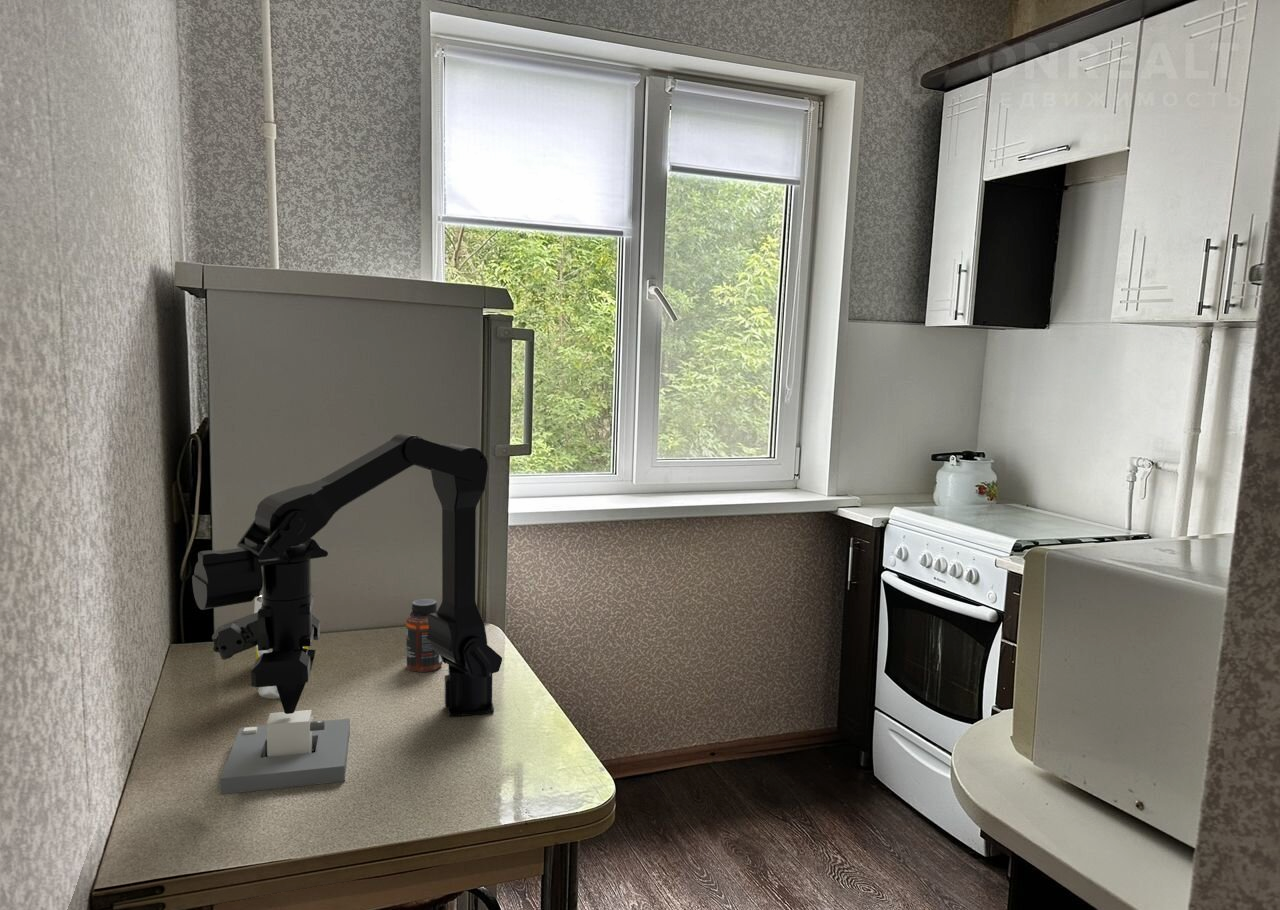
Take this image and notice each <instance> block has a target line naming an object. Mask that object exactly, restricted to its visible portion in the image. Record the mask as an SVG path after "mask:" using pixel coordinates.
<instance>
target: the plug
mask: <svg viewBox="0 0 1280 910" xmlns="http://www.w3.org/2000/svg"><path fill="white" fill-rule="evenodd" d="M312 715H313V714H312V709H306V710H295V712H294V713H292V714H285V712H284V711H281V712H280V711H279V712H270V713H269V717H268V719H267V722H266V726H267V754H266V757H273V756H283V755H293V754H304V753H313V750H312V731H319V730H324V729H325V720H324V719H323V720H312Z"/></svg>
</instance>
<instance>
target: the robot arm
mask: <svg viewBox="0 0 1280 910" xmlns="http://www.w3.org/2000/svg"><path fill="white" fill-rule="evenodd" d="M488 461H489V460H488V458H487V456H486V455H485V454H484V453H483V452H482V451H481V450H480V449H477V448H475V447H470V446H464V445H460V444H456V443H446V444H445V443H444V444H440V443H436V442H432V441H429V440H427V439H425V438H423V437H421V436H419V435H415V434H409V433H397V434H396V435H394V436H393V437H392V438H390V440H388V441H387V442H385V443H383V444H381V445H379V446H378V447H375V448H374V449H372V450H370V451H369V452H367V453H366V454H365V453H364V455H361V456H360V457H357V458H356V459H354V460H353V461H351V462H349V463H348V464H346V465H344V466H341V468H338V469H337V470H335V471H333V472H331V473H330V474H328V475H326V476H325V477H322V478H321V479H318V480H316V481H313V482H311V483H305V484H302V485H296V486H292V487H290V488H286V489H284V490H281V491H278V492H276V493H273V494H270V495H267V496H266V497H265V498H264V499H262V500H261V501H260V502H259V503H258V504H257V506H256V507H257V508H256V511H255V515H254V520H253V522H251V524H250V525H249V527H248V528H247V530H246V531H245V533H244V534H243V535H242V537H241V538H240V539H239V541H238V543H237V544H236V546H237V548H230V549H222V550H209V549H207V550H201V551H199V552H198V553H197V562H196V563H195V566H194V572H193V573H194V574H193V575H192V576H191V579H192V580H191V582H192V591H193V596H194V599H195V600H194V601H195V603H196V606H197V607H198V608H199V609H200V610H201V611H202V610H203V611H204V610H209V609H215V608H221V607H229V606H233V605H239V604H243V603H250V602H253V601H255V598H256V597H257V596H259V595H261V592H262V594H263V602H262V607H261V609H259V610H258V612H257V613H254V612H253V613H251V614H247V615H245V616H243V617H240V618H237V619H235V620H233V621H229V622H228V623H224V624H222V625H220V626H218V627H217V628H216V629H215V631H214V633H213V634H212V636H211V638H212V641H213V644H214V645H213V648H212V650H213V652H215V653H218V654H219V657H220V658H221V659H222V660H223V661H225V660H227V659H231V658H232V657H233V656H234V655H237V654H239V653H242V652H244V651H247V650H249V649H251V648H252V649H253V648H254V647H256V645H258V651H262V650H269V649H272V652H270V653H263V654H262V655H261V656H260V657H259V658H258V659H257V660H256V659H255V661H254V664H253V666H252V668H251V671H250V676H251V680H250V682H251V687H253V688H259V687H268V686H276V687H277V690H278V693H279V696H280V698H279V700H280V703H281V705H282V708H283V712H285V714H292V713H294V712H295V711H296V708H297V706H298V705H299V704H298V703H299V701H300V698H301V696H302V694H303V691H304V688H305V685H306V684H307V683H308V682H309V680H310V675H311V671H312V668H313V665H314V664H313V663H314V660H315V656H316V653H317V651H316V650H315V649H308V650H307V649H305V648H304V647H306V646H308V647H311V645H312V642H313V641H317V640H318V641H319V639H320V636H321V635H320V634H321V627H320V626H321V624H320V620H319V619H318V618H317V617H316V616H315V615H314V614H313V612H312V611H313V609H312V608H313V605H314V595H312V562H311V561H312V560H313V559H319V558H326V557H327V556H328V555H329V551H327V550H326V549H324V548H323V547H322V546H320V544H319V543H318V542H317V541H316V539H314V538H313V537H314V536H315V535H317V533H319V532H320V531H321V530H322V529H324V528H325V527H326V526H327V525H328V523H329V522H330V521H331V519H332V518H333V517H334V515H336V513H337V512H339V510H341V509H342V508H344V507H345V506H346V505H348V504H350V503H352V502H354V501H355V500H357V499H359V498H360V497H361V496H364V495H365V494H367V493H369V492H370V491H373V489H376V488H377V487H379V486H381V484H384V483H386V482H387V481H388V480H391V479H393V478H394V477H396V476H397V475H399V474H401V473H402V472H404V471H405V470H407V469H409V468H411V467H413V466H416V467H418V468H422V469H426V470H429V471H430V473H431V479H432V485H433V489H434V491H435V493H436V496H437V498H438V500H439V503H440V505H441V509H442V510H441V511H442V512H441V514H442V515H441V519H442V520H441V524H442V525H441V529H442V530H441V531H442V533H441V534H442V535H441V540H442V541H441V543H442V544H441V545H442V547H441V548H442V551H441V553H442V554H441V555H442V556H441V557H442V558H441V559H442V561H441V563H442V564H441V566H442V567H441V568H442V569H441V571H442V572H441V573H442V575H441V578H442V579H441V580H442V581H441V582H442V583H441V584H442V585H441V586H442V591H441V592H442V595H441V596H442V597H441V604H440V605H439V607H438V609H437V613H430V614H428V624H429V632H428V636H427V640H429V641H431V646H432V648H433V649H434V650H435V651H436V652H437V653H438V654H440V656H441V659H442V663H444V664H447V665H448V674H446V675H444V695H443V696H444V699H443V700H444V707H445V708H446V709H448V715H449V716H450V717H458V716H459V717H460V716H470V715H471V716H472V715H480V714H481V715H482V714H490V713H491V714H492V713H494V712H495V708H494V703H493V674H494V673H495V674H497V673H499V671H500V668H501V665H502V662H503V657H502V656H501V655H500V654H499V653H497V651H495V650H494V649H493V648H492V647H490V646H489V645H488V638H487V637H488V636H487V633H486V624H485V621H484V619H483V617H482V614H481V612H480V609H479V607H478V605H477V601H476V600H477V599H476V598H477V595H476V594H477V591H476V589H477V588H476V587H477V585H476V584H477V583H476V582H477V580H476V579H477V576H476V575H477V574H476V573H477V572H476V571H477V548H476V547H477V544H476V543H477V507H478V504H479V502H480V500H481V498H482V496H483V495H484V492H485V490H486V486H487V480H488V479H487V478H488V473H489V462H488ZM266 540H267V541H266Z"/></svg>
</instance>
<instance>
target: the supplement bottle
mask: <svg viewBox="0 0 1280 910" xmlns="http://www.w3.org/2000/svg"><path fill="white" fill-rule="evenodd" d="M437 605H438V604H437V600H436V599H433V598H421V599H420V598H419V599H416V600H414V601H412V603H411V610H412V611H411V612H410V613H409V614H408V615H407V617H406V625H405V626H406V627H405V629H406V630H405V631H406V632H405V633H406V636H405V637H406V639H405V640H406V641H405V643H406V654H405V655H406V667H407V668H408V669H409V670H411V671H412V672H418V673H425V672H426V673H427V672H430V671H431V672H432V671H435V670H438V669H439V668H440V667H442V665H443V661H442V659H441V656H440V654H438V653H437V652H436V651H435V650H434V649H433V648H432V646H431V641H429V640H427V636H428V632H429V624H428V614H430V613H437V611H438V609H437V608H438V606H437Z"/></svg>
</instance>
